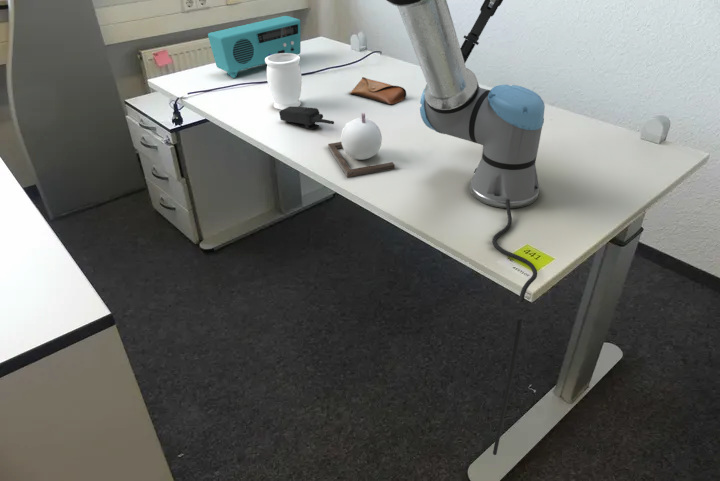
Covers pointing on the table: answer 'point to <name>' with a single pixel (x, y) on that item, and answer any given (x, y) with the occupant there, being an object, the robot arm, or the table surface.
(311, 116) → the walkie-talkie
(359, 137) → the ornament
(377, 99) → the sunglasses case
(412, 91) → the table surface
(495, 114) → the robot arm
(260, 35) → the radio
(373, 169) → the bay
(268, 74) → the jar
